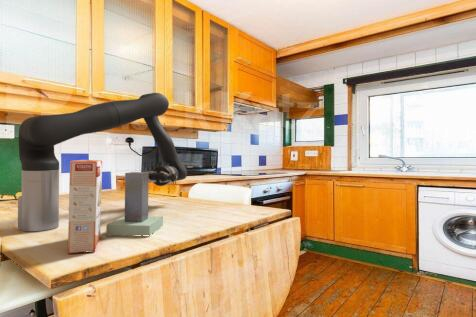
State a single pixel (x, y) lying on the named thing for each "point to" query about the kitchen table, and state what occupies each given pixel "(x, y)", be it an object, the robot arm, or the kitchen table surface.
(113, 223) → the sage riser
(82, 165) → the cracker box
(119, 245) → the kitchen table surface
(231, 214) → the kitchen table surface
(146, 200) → the block
